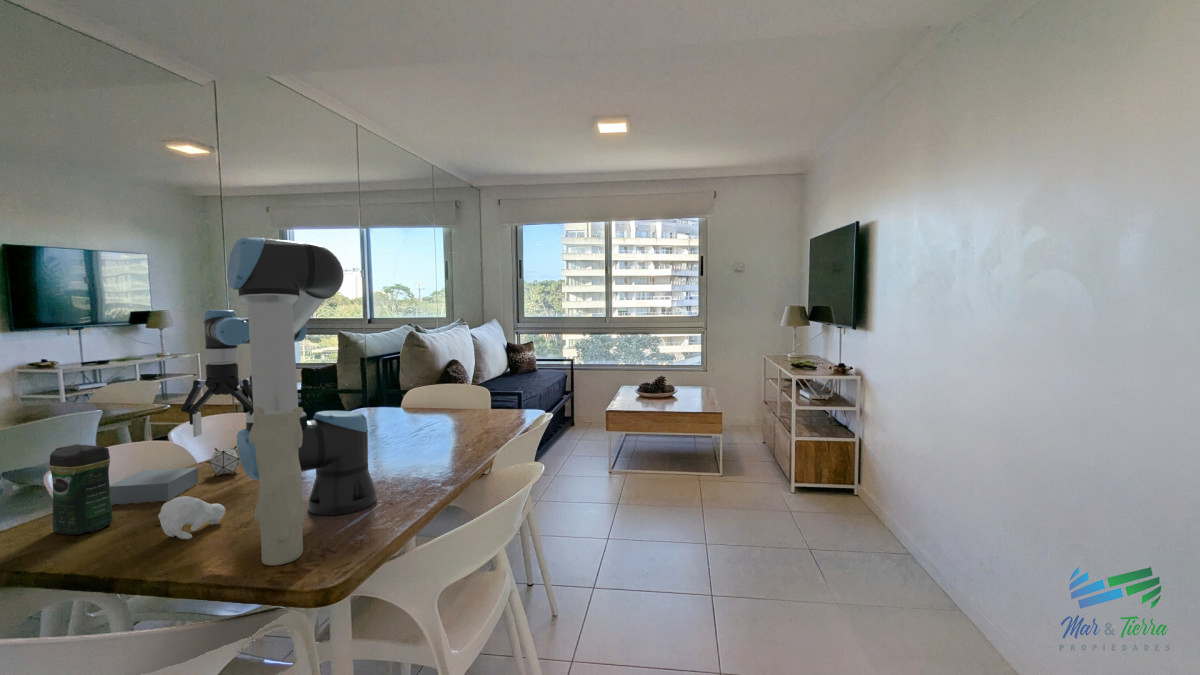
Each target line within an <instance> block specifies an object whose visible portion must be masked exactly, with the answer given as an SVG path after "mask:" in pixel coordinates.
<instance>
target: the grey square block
mask: <svg viewBox="0 0 1200 675" xmlns="http://www.w3.org/2000/svg"><path fill="white" fill-rule="evenodd" d="M198 470H199V468H198V467H186V468H167V469H165V468H164V469H145V470H140V471H139V472H136V473H134V474H132V475H130V476H128V477H126V478H123V479H121V480H119V481H117V482H115V483H111V484H109V485H110V496H111V504H112V506H113V505H114V506H115V504H119V505H129V504H128V503H134V504H141V503H140V502H150V503H152V502H151V501H166V502H168V501H167V500H170V499H172V498H173V497H175V496H177V495H178V494H180V493H182V492H183V491H185V490H187V489H188V488H190V487H192V486H193V485H195V484H197V483H198V484H199V474H198V473H199V471H198ZM198 484H197V485H198ZM192 488H193V487H192ZM187 491H188V490H187ZM185 492H186V491H185ZM182 494H183V493H182ZM180 495H181V494H180ZM178 496H179V495H178ZM178 496H177V497H178ZM175 498H176V497H175ZM173 499H174V498H173Z"/></svg>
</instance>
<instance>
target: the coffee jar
mask: <svg viewBox="0 0 1200 675" xmlns="http://www.w3.org/2000/svg"><path fill="white" fill-rule="evenodd" d="M110 463H111V455H110V450H109V448H108V447H106V446H103V445H90V444H89V445H88V444H79V443H76V444H72V445H71V444H70V445H66V446H61V447H57V448H55V449H54V451H53V450H52V452H51V453H50V455H49V464H48V465H49V471H50V474H51V479H52V531H53V532H54V533H56V534H61V535H62V534H63V535H71V536H72V535H80V534H83V533H84V534H85V533H88V532H95V530H96V531H98V529H99V530H101V529H103V528H105V527H107V526H109V525H110V524H111V523H113V519H114V517H113V516H114V515H113V505H112V504H111V496H110V485H111V484H110V474H109V473H110V472H109V471H110V470H109V469H110Z"/></svg>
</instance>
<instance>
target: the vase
mask: <svg viewBox="0 0 1200 675" xmlns="http://www.w3.org/2000/svg"><path fill="white" fill-rule="evenodd" d="M302 412H304V408H303V407H301V406H298V407H297V408H295V409H294V410H293V412H289V413H282V414H265V412H264V409H263V408H260V407H255V408H254V424H253V426H252V428H251V431H250V434H249V442H250V443H252V444H254V445H255V450H256V462H257V467H258V472H259V479H260V480H259V484H258V486H259V487H258V493H257V502H256V505H255V509H254V512H253V518H254V520H255V521H256V522H257V523H259V530H260V531H259V532H260V545H261V546H260V549H261V550H260V551H261V562H262V564H263V565H266V566H279V565H284V564H289V563H291V562H294V561H296V560H298V559H299V558H300V557H301V556H302V554H303V552H304V542H303V541H304V540H303V537H304V536H303V524H304V521H305V519H306V508H305V503H304V500H303V486H302V482H303V481H302V480H303V476H302V474H303V473H302V472H301V467H300V462H299V456H298V449H299V448H300V447H301V446H302V440H303V434H302V428H301V425H300V420H299V419H300V416H301V414H302Z"/></svg>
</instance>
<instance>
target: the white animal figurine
mask: <svg viewBox="0 0 1200 675" xmlns="http://www.w3.org/2000/svg"><path fill="white" fill-rule="evenodd" d="M225 514H226V508H225V507H224V505H222V504H220V503H208V502H206V501H204V500H202V499H200V498H197V497H193V496H184V495H183V496H177V497H175V498H173V499H172V500H170V501H166V502H165V503H163V505H162V506H161V508H160V512H159V513H158V515H157V517H158V519H159V521H160V525H161V528H162V530H163V532H164V534H165V535H167V536H168V537H172V538H173V537H175V536H176V537H177V538H178V539H180V540H191V539H192V538H193V535H192V533H190V532H189V531H183V527H184V526H185V525H187V526H189V525H190V530H191V531H192V532H195V531H196V530H198V529H199V528H200V527H202V526H203V525H204V524H207V523H209V524H210V525H211V526H212V525H217V526H218V524H219V523H220V522H221V520H222V519H223V517H224V516H225ZM190 538H191V539H190Z"/></svg>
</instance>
